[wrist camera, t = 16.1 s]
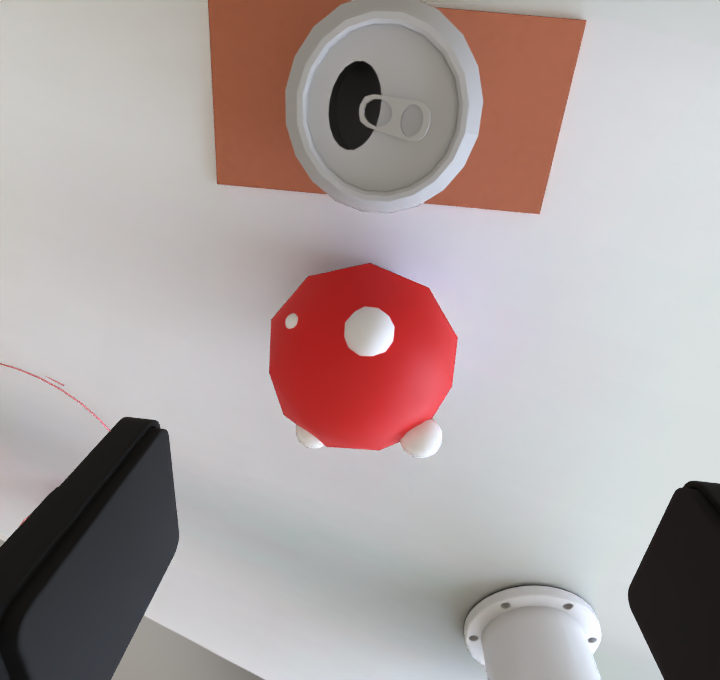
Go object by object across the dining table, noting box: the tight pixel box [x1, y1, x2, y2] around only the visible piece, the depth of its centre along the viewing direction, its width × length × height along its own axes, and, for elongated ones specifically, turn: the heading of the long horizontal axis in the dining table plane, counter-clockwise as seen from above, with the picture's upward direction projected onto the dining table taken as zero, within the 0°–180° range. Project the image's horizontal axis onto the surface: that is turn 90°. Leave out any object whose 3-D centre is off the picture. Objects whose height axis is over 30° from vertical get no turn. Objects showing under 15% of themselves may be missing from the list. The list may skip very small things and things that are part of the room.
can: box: [285, 0, 483, 213], centre depth 22 cm, size 8×8×12 cm
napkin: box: [208, 0, 586, 214], centre depth 27 cm, size 10×20×1 cm, turn 85°
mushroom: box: [269, 263, 458, 458], centre depth 28 cm, size 11×11×12 cm
